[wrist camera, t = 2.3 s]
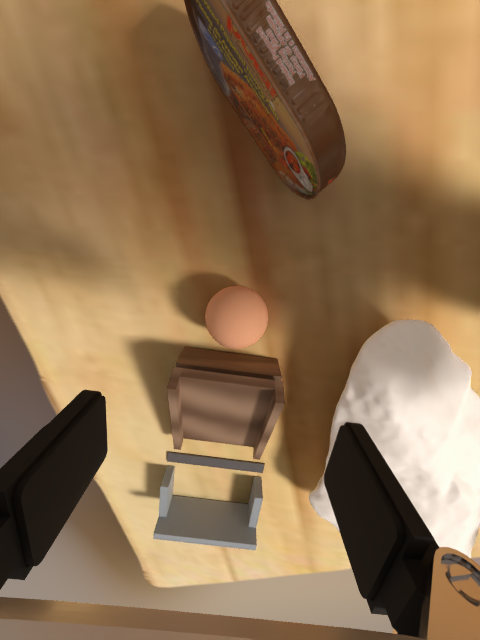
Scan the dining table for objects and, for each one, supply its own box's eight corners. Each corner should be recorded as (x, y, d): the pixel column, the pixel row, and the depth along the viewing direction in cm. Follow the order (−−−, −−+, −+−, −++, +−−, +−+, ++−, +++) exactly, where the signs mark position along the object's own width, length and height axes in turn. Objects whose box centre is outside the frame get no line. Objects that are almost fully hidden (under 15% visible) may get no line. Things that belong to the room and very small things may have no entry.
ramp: (185, 345, 29) (167, 379, 22) (277, 357, 29) (286, 395, 22) (178, 435, 33) (161, 486, 26) (258, 445, 33) (262, 498, 26)
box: (168, 451, 34) (155, 487, 29) (264, 463, 34) (267, 500, 29) (165, 499, 36) (153, 538, 32) (254, 509, 37) (255, 550, 32)
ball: (212, 276, 26) (203, 288, 20) (270, 285, 26) (277, 299, 20) (207, 330, 28) (197, 355, 22) (260, 337, 28) (264, 364, 22)
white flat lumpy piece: (337, 553, 38) (376, 645, 29) (243, 363, 27) (259, 416, 19) (479, 487, 38) (561, 558, 29) (438, 271, 27) (547, 280, 19)
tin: (192, 46, 20) (158, -77, 12) (222, 13, 19) (207, -140, 11) (298, 207, 24) (325, 193, 16) (327, 184, 23) (370, 157, 15)
